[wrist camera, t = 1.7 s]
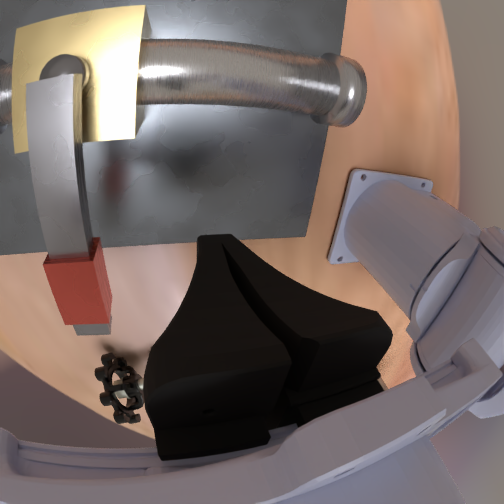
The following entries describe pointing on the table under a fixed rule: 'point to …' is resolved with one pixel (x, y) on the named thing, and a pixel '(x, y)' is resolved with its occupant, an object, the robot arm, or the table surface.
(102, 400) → the valve
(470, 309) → the robot arm
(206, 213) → the pipe stand
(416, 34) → the table surface
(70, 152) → the valve lever
